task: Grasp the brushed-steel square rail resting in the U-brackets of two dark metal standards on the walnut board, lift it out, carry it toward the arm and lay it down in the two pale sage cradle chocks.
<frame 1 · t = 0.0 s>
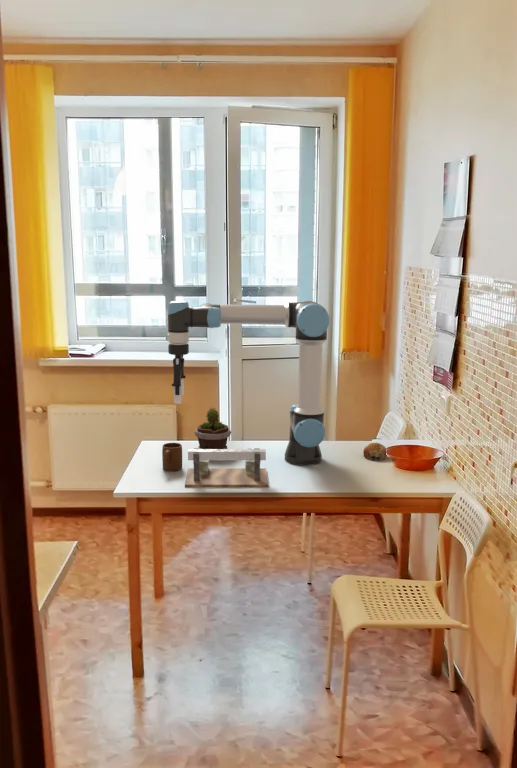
hand: (179, 399, 249), 28 cm above the table, fingers open, 13 cm apart
bread roll: (374, 457, 275), on the table
rail: (226, 458, 240), point 9 cm above the table, touching rack
mug: (170, 470, 254), on the table
rack: (226, 478, 246), on the table
flowerpot: (212, 454, 276), on the table
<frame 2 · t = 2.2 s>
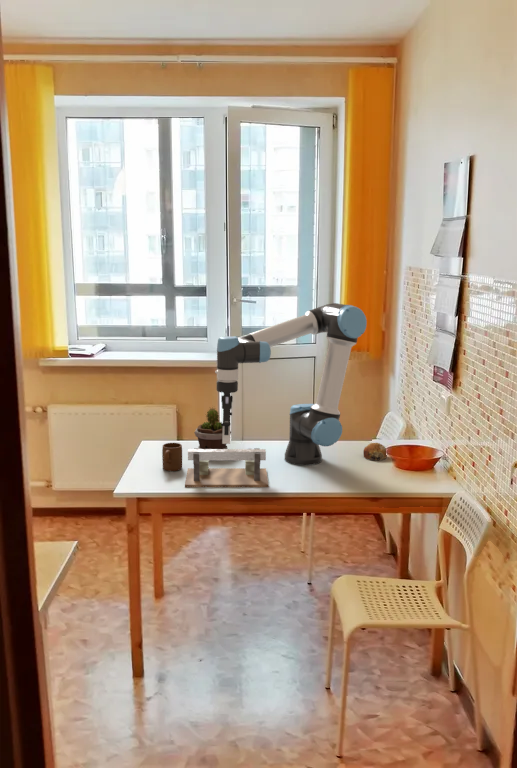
hand: (226, 438, 239), 17 cm above the table, fingers open, 13 cm apart
nothing on the table moved.
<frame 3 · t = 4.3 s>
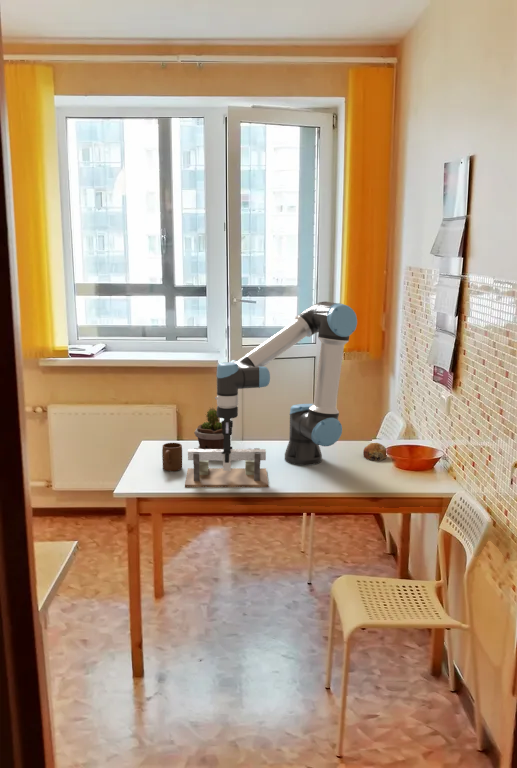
hand: (226, 468, 241), 5 cm above the table, fingers closed on rail, 3 cm apart
rail: (226, 458, 240), point 9 cm above the table, touching gripper, rack
everything else where it was.
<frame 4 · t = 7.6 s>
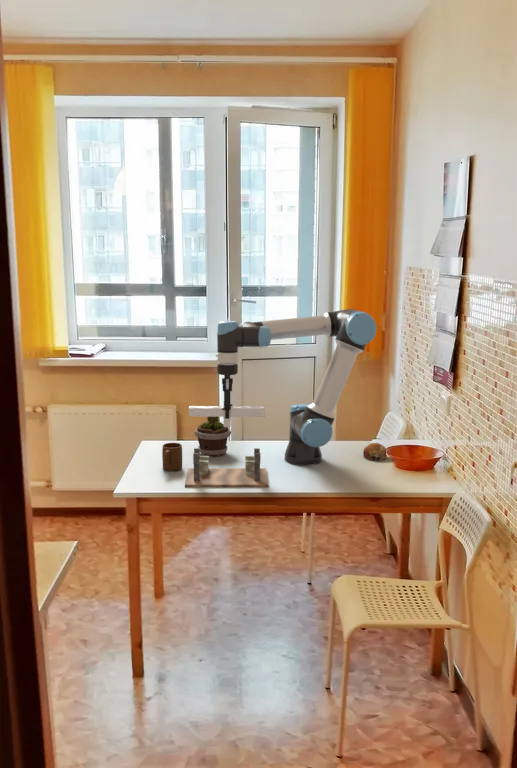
hand: (227, 425, 247), 19 cm above the table, fingers closed on rail, 3 cm apart
rail: (227, 415, 246), point 23 cm above the table, touching gripper
everything else where it was.
when the fingers open (3 cm above the table, at t = 11.0 s): rail drops 1 cm, resting on rack.
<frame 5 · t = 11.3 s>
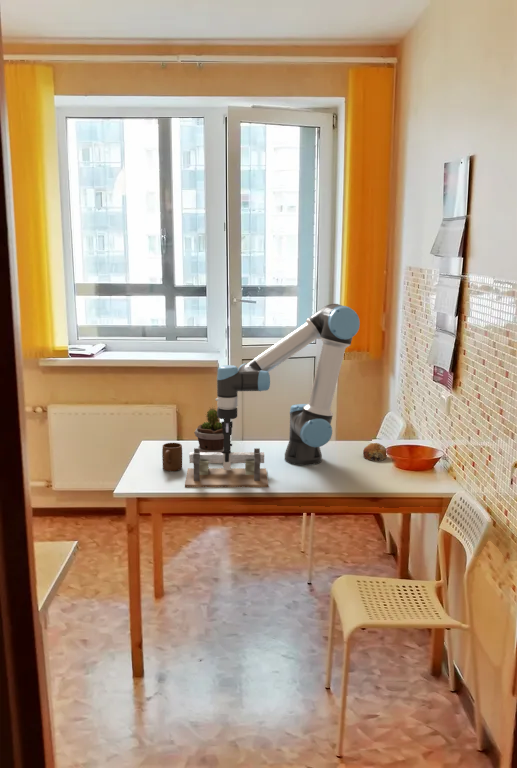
hand: (226, 466, 250), 3 cm above the table, fingers open, 7 cm apart
rail: (226, 461, 250), point 5 cm above the table, touching rack
everything else where it was.
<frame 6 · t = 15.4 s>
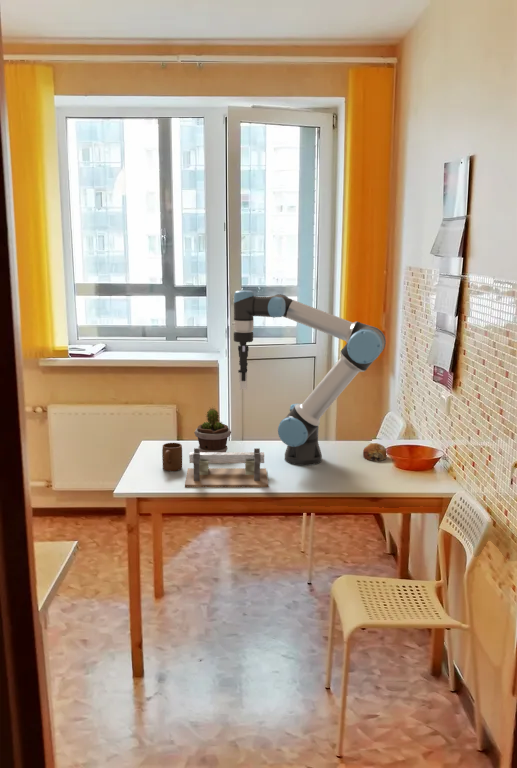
hand: (242, 385, 258), 32 cm above the table, fingers open, 13 cm apart
nothing on the table moved.
at the end: rail inside the target area on the rack (0.0 cm from its centre), point 5.0 cm above the rack's base; the gripper is holding nothing; rail point 5.0 cm above the table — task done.
